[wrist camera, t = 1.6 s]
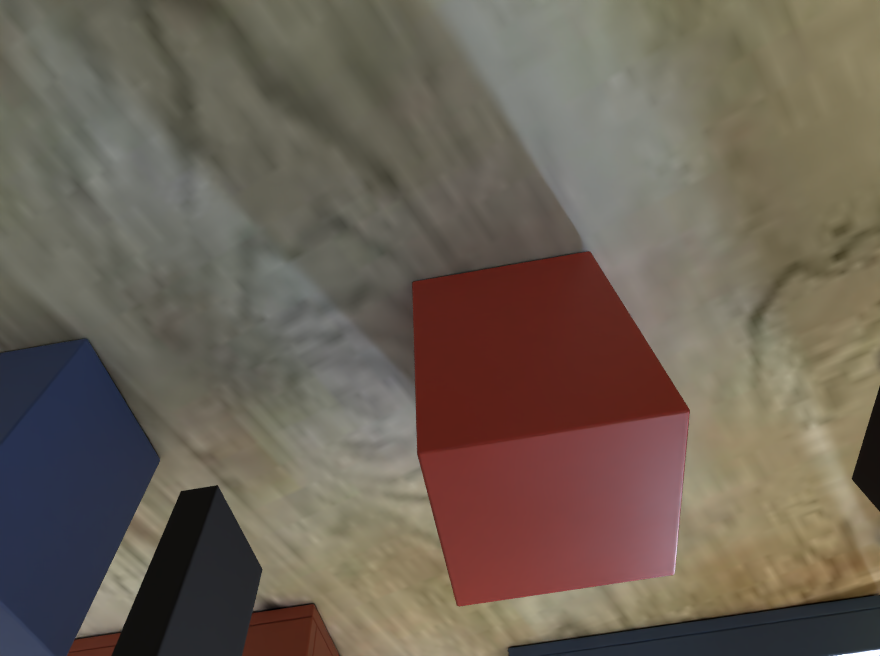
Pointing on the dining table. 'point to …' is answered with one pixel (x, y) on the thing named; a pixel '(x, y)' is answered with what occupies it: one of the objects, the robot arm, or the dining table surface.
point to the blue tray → (742, 635)
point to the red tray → (252, 636)
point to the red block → (544, 431)
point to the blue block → (62, 490)
